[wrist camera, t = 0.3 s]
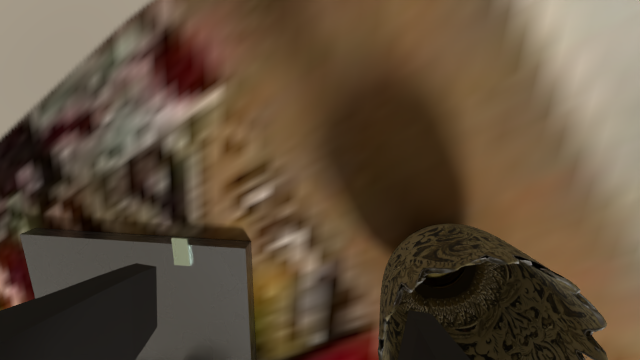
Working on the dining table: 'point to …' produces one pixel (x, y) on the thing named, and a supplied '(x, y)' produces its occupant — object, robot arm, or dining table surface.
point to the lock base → (162, 286)
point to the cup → (485, 298)
